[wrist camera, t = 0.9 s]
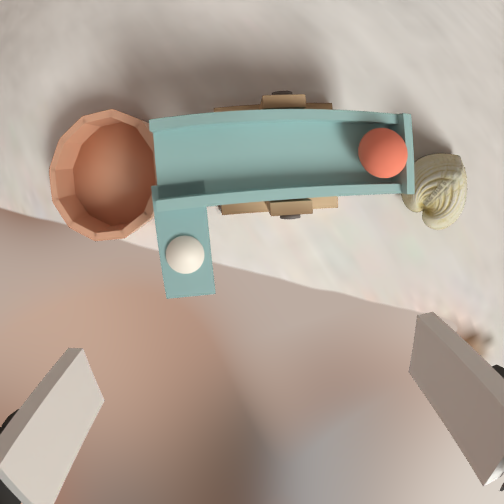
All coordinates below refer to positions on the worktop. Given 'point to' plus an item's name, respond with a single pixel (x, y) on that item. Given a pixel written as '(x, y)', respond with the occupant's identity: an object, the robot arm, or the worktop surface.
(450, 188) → the seashell
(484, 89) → the worktop surface
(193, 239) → the lever
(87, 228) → the bowl
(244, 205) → the stand
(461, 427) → the robot arm
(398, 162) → the ball
